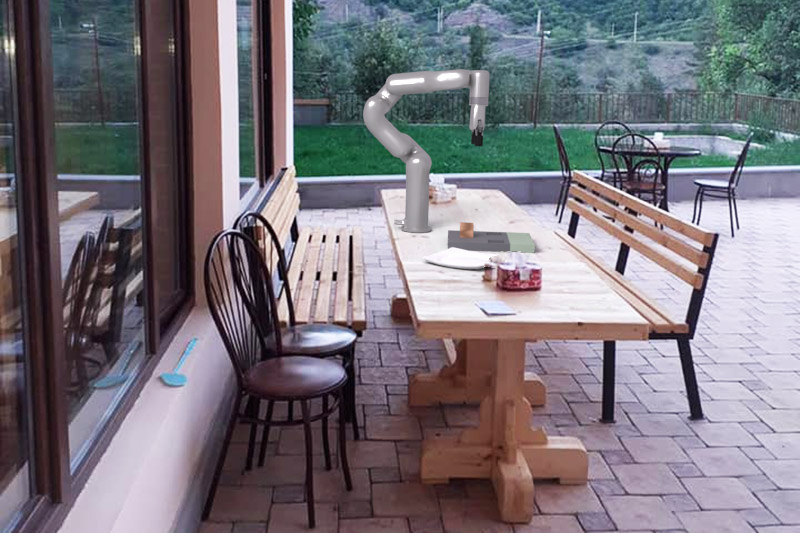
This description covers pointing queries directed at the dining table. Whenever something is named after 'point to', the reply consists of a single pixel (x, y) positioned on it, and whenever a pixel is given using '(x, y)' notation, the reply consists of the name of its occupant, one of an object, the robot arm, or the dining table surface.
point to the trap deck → (492, 241)
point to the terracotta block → (466, 230)
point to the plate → (459, 258)
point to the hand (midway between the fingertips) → (476, 145)
